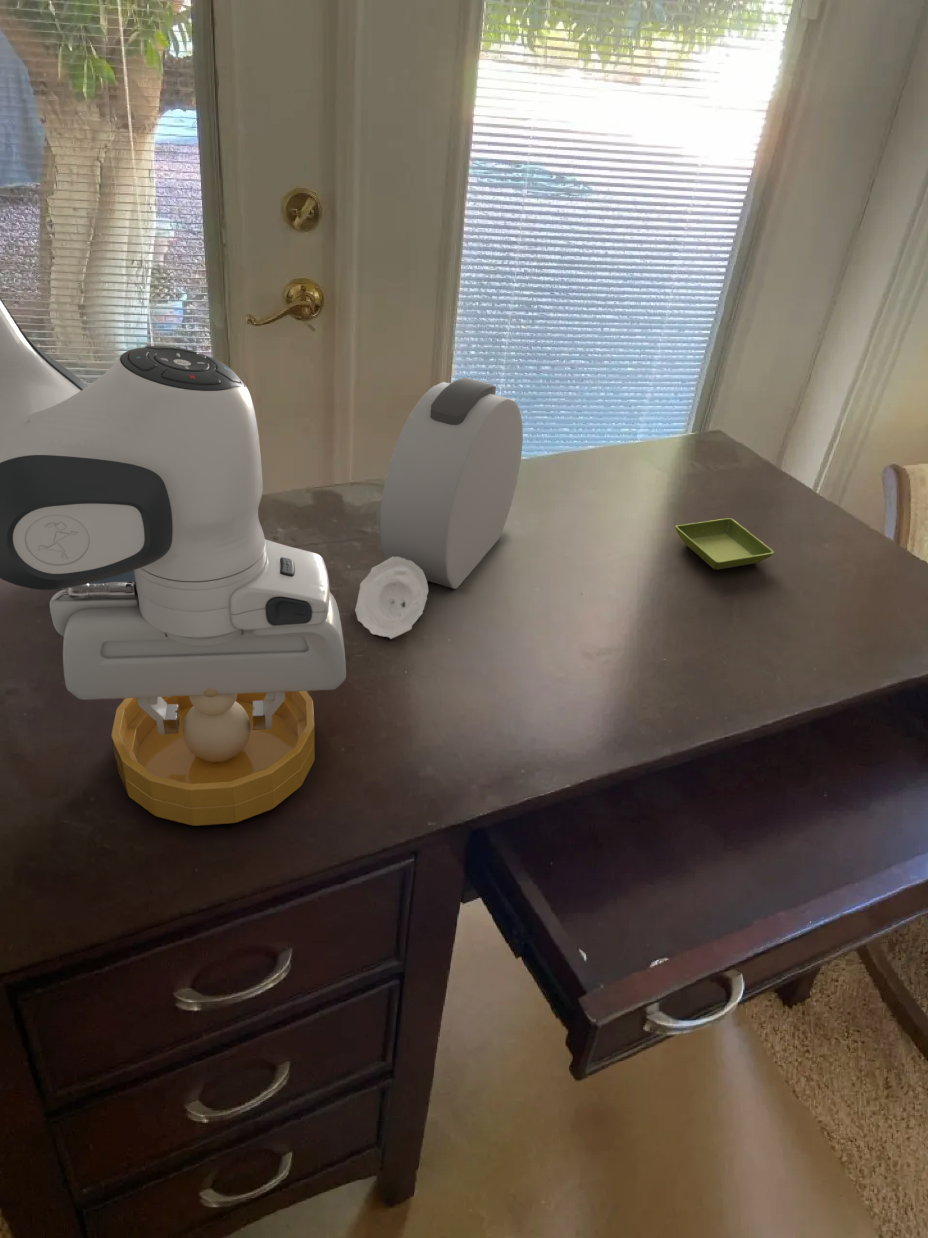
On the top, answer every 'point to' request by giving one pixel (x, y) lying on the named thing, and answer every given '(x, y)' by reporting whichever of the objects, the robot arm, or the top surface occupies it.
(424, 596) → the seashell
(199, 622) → the robot arm
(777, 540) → the top surface
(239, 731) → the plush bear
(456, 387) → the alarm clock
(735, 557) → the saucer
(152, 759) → the bowl
